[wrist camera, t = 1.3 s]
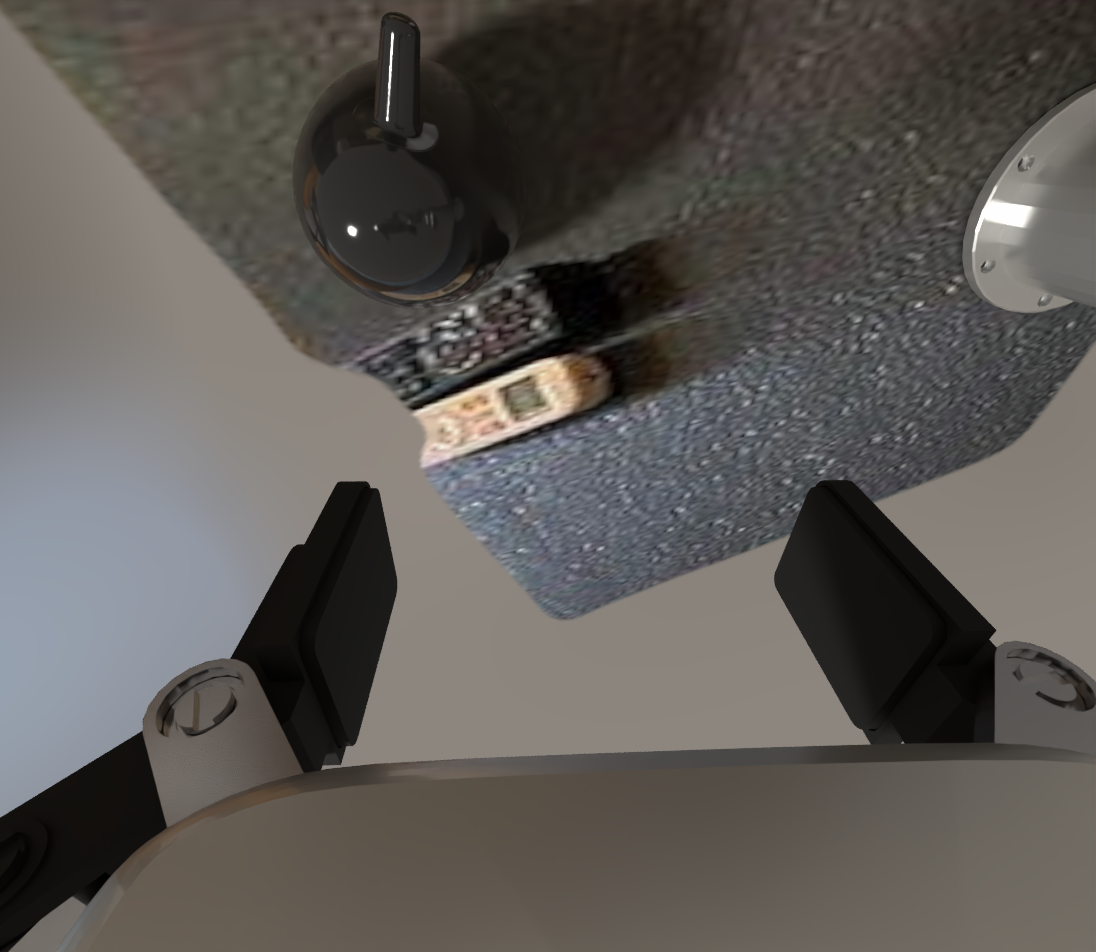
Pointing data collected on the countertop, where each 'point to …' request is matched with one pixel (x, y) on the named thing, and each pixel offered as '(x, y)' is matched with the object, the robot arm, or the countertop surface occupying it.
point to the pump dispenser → (409, 178)
